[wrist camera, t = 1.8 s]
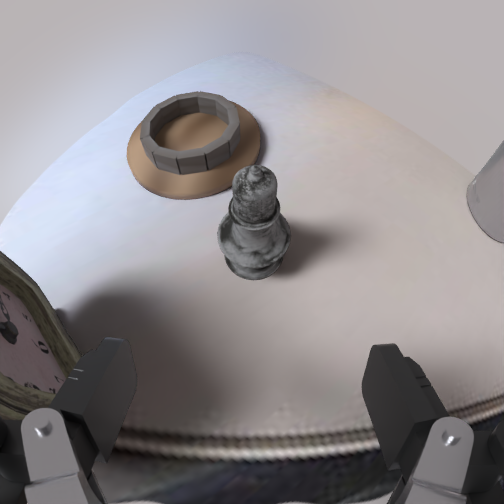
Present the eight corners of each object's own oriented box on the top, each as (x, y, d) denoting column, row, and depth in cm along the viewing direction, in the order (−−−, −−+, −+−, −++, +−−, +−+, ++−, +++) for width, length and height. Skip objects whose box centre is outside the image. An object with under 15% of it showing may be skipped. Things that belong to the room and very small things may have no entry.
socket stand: (277, 118, 37) (279, 95, 33) (228, 217, 31) (225, 195, 27) (169, 96, 39) (165, 74, 36) (105, 179, 33) (94, 158, 30)
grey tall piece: (298, 264, 29) (325, 182, 18) (239, 294, 28) (232, 224, 17) (266, 214, 31) (272, 120, 20) (210, 240, 30) (189, 151, 19)
